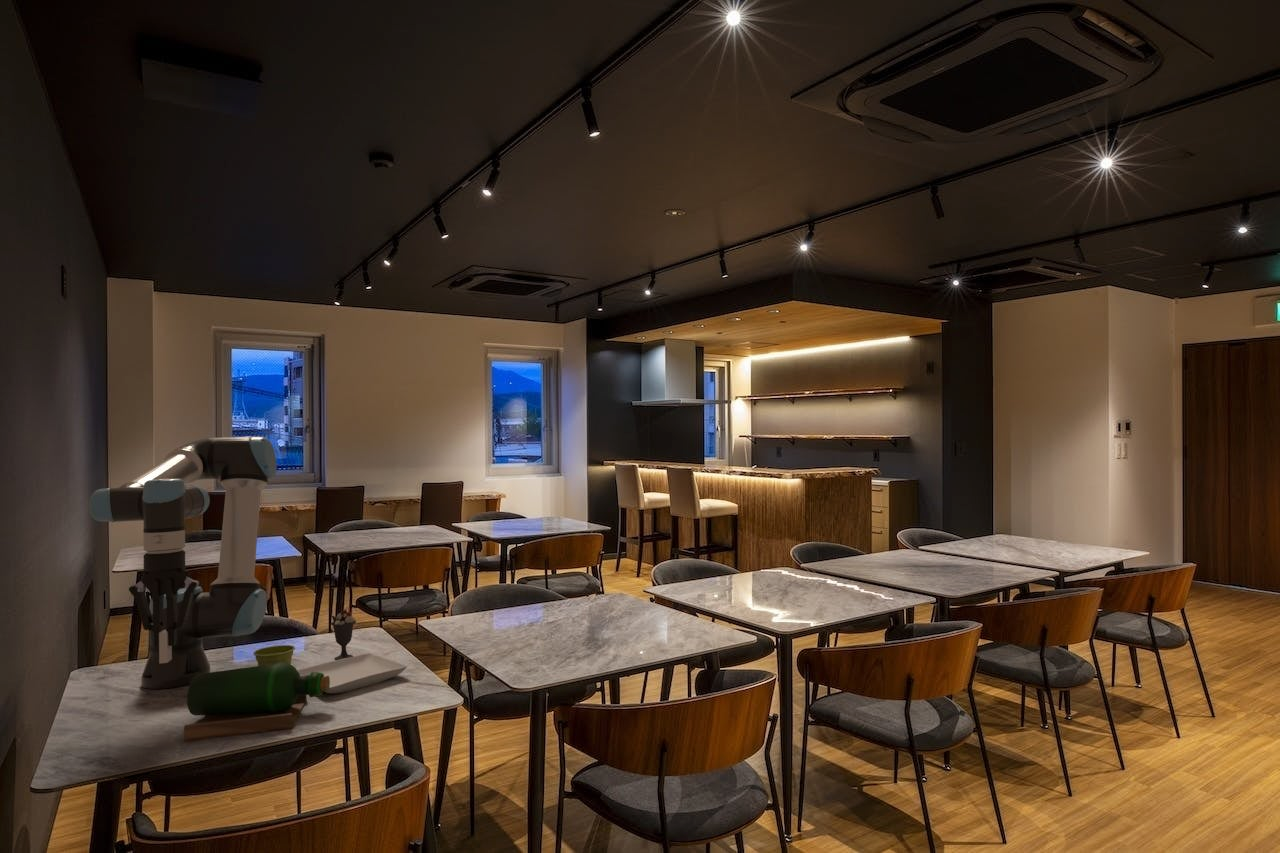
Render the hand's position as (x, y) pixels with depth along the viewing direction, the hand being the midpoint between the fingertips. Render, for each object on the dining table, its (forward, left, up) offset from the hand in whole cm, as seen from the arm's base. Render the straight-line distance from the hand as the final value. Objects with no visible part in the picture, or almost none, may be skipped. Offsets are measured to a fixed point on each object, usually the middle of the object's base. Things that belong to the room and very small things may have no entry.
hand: (165, 661), depth 155 cm
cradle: (0, +16, -14) cm, 22 cm away
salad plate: (-22, +34, -15) cm, 43 cm away
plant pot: (-25, +16, -15) cm, 33 cm away
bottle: (-4, +4, -9) cm, 11 cm away
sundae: (-44, +30, -15) cm, 55 cm away
